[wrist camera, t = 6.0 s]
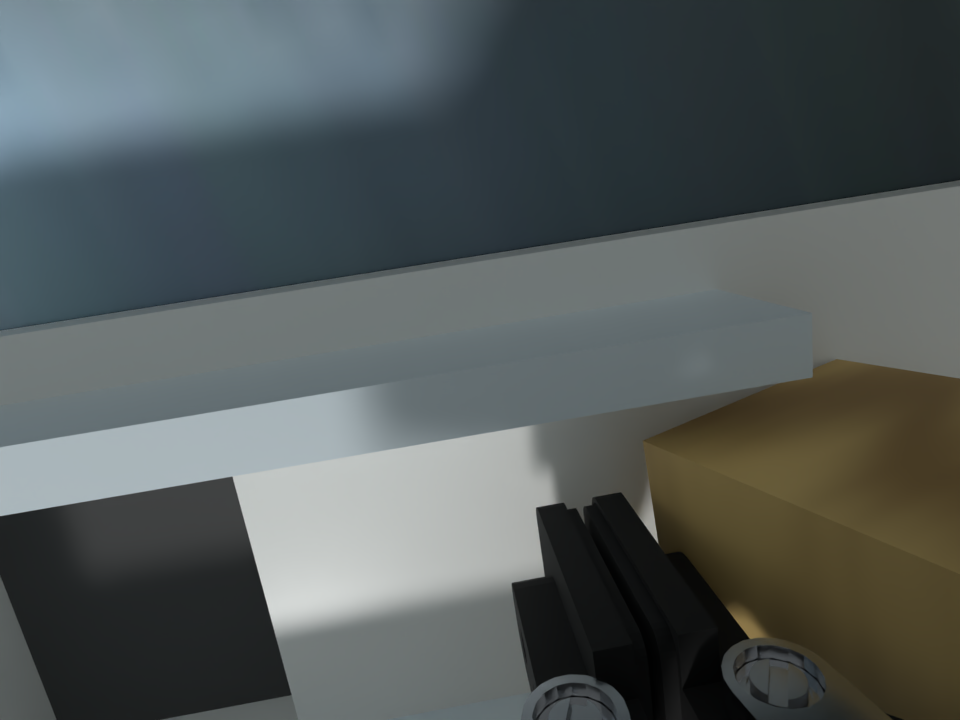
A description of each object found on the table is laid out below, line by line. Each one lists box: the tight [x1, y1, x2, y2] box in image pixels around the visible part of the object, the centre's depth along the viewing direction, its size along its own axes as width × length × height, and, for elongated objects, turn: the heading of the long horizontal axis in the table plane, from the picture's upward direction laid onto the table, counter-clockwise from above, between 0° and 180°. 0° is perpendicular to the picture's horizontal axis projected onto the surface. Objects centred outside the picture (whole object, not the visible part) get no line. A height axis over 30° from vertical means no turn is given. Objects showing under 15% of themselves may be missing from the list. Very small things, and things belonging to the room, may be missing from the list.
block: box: [643, 359, 960, 720], centre depth 10 cm, size 5×5×5 cm
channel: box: [0, 180, 960, 720], centre depth 12 cm, size 24×12×4 cm, turn 98°
